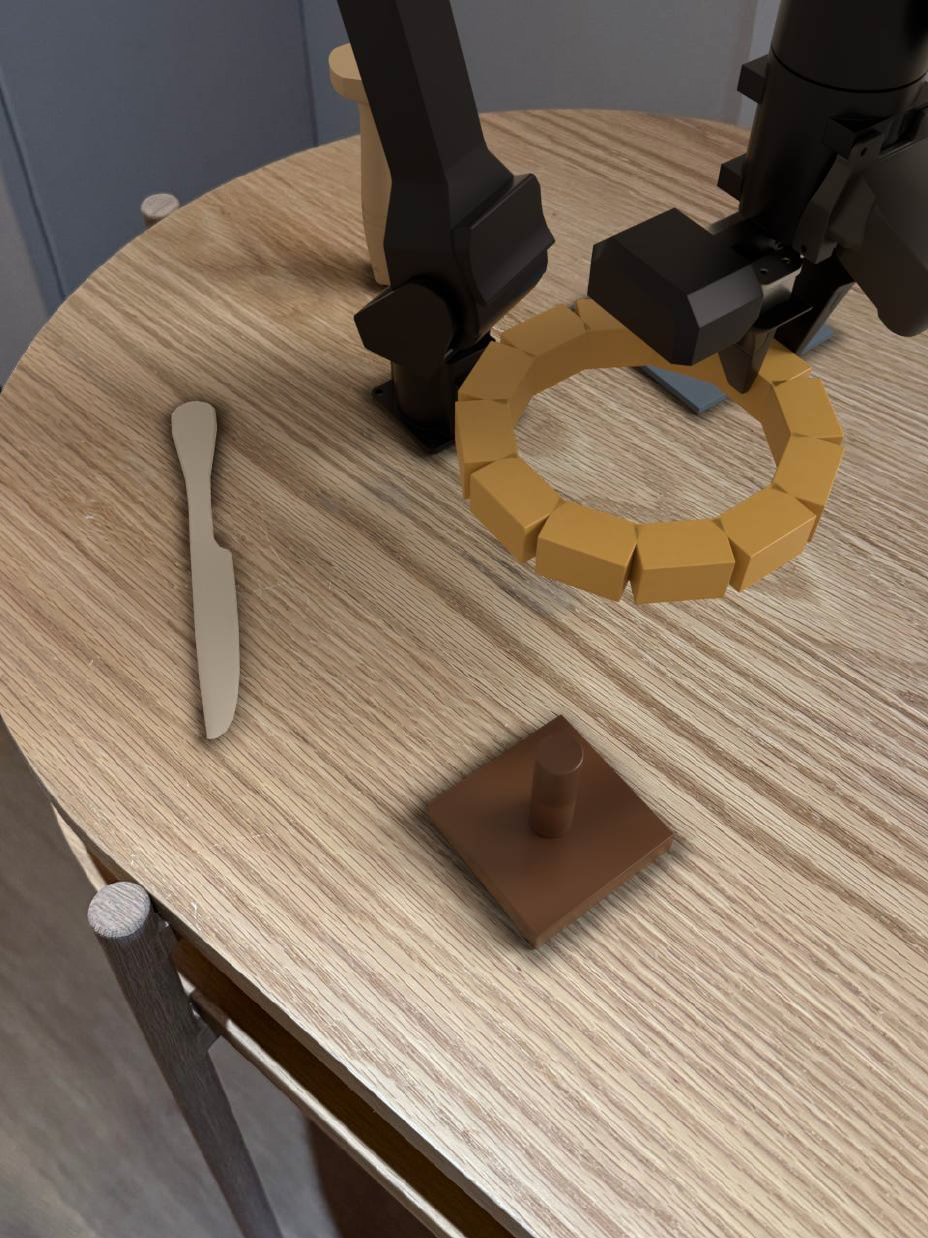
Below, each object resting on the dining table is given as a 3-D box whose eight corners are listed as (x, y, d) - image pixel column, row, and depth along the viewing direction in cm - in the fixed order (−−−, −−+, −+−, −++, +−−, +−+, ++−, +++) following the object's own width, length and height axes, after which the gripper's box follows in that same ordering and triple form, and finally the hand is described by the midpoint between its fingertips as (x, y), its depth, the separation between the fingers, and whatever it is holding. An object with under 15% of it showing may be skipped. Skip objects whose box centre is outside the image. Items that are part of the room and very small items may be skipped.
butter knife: (218, 396, 70) (169, 402, 69) (247, 731, 56) (186, 740, 56) (219, 401, 70) (171, 407, 70) (248, 735, 56) (188, 744, 56)
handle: (449, 292, 77) (447, 73, 65) (354, 304, 76) (334, 85, 64) (436, 248, 79) (432, 31, 67) (344, 259, 79) (323, 42, 67)
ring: (387, 426, 54) (384, 387, 52) (656, 292, 60) (663, 253, 58) (620, 669, 46) (627, 634, 44) (905, 487, 52) (922, 450, 50)
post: (428, 817, 54) (424, 735, 48) (559, 729, 57) (571, 641, 51) (535, 950, 50) (546, 880, 44) (670, 848, 53) (697, 769, 47)
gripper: (834, 254, 35) (733, 575, 47) (1197, 68, 41) (1023, 393, 54) (598, 93, 40) (564, 420, 53) (952, -50, 46) (846, 272, 59)
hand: (758, 376), depth 54 cm, fingers closed on ring, 2 cm apart
